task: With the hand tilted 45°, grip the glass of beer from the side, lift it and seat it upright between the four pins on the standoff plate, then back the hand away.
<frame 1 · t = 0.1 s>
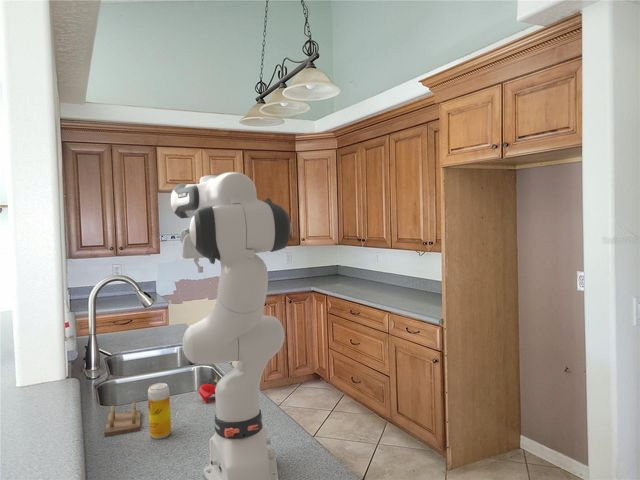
hand: (216, 271, 149), 48 cm above the counter, tool pointing down, fingers open, 8 cm apart
cap: (209, 400, 169), on the counter
glass of beer: (160, 435, 143), on the counter
standoff plate: (123, 424, 151), on the counter
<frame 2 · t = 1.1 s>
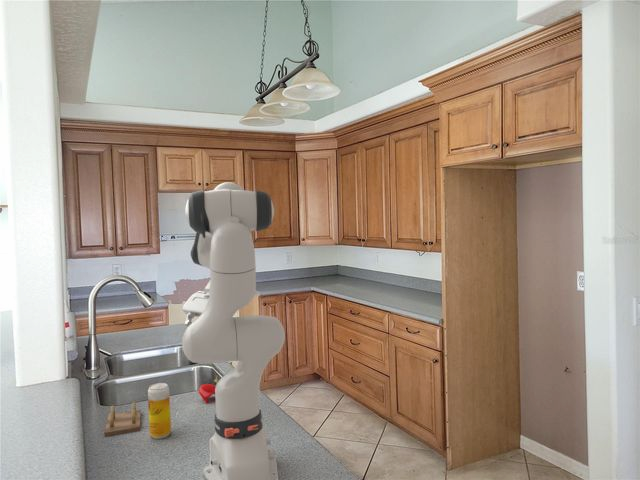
hand: (196, 327, 153), 30 cm above the counter, tool tilted 45°, fingers open, 8 cm apart
nothing on the counter moved.
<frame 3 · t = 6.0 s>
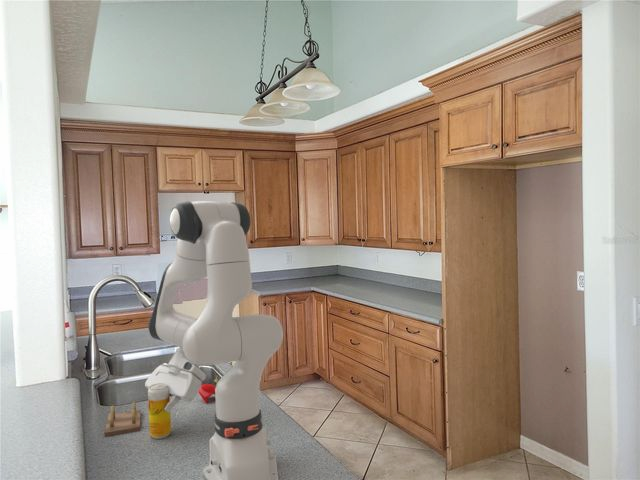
hand: (157, 408, 142), 8 cm above the counter, tool tilted 45°, fingers closed on glass of beer, 6 cm apart
glass of beer: (160, 435, 143), on the counter, touching gripper
everything else where it was.
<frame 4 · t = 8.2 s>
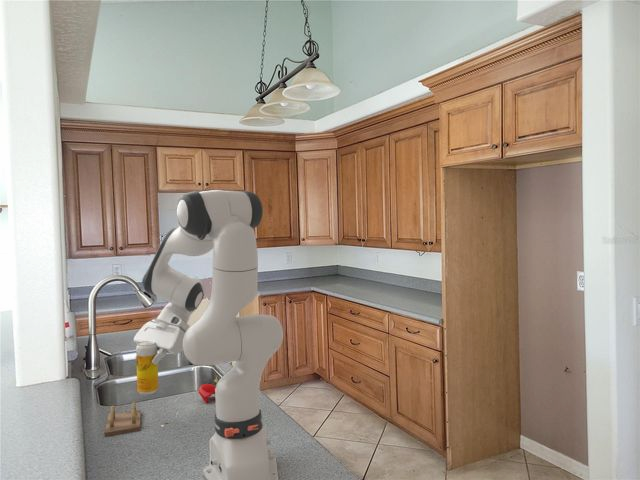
hand: (145, 361, 144), 22 cm above the counter, tool tilted 45°, fingers closed on glass of beer, 6 cm apart
glass of beer: (148, 392, 145), point 12 cm above the counter, touching gripper
everything else where it was.
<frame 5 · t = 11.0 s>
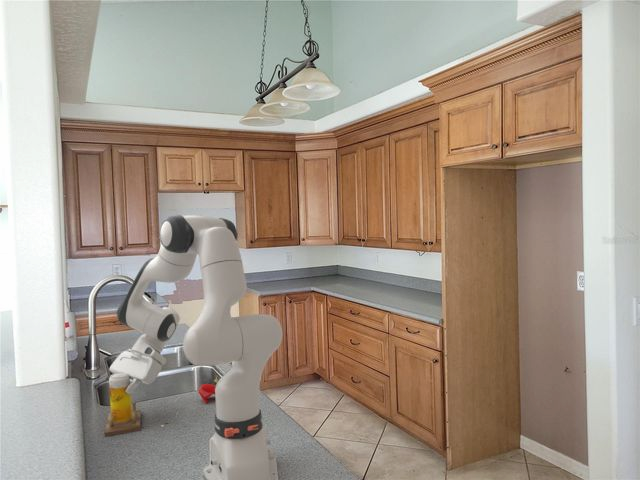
hand: (119, 390, 150), 11 cm above the counter, tool tilted 45°, fingers closed on glass of beer, 6 cm apart
glass of beer: (121, 421, 151), point 1 cm above the counter, touching gripper, standoff plate
everything else where it was.
when the fingers open (11 cm above the counter, at t = 11.9 s): glass of beer stays where it is, resting on standoff plate.
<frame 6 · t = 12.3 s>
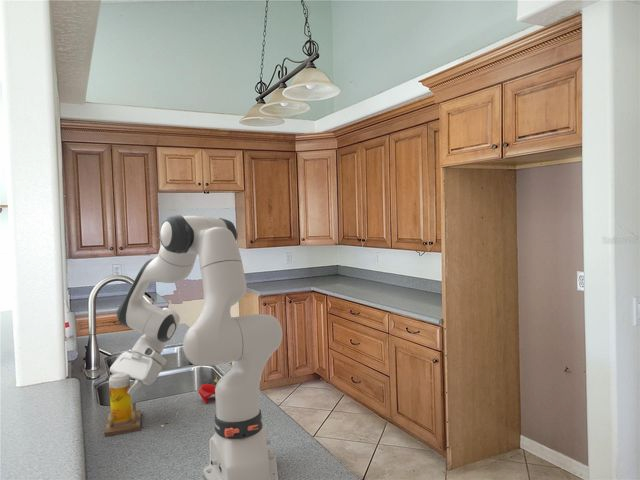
hand: (119, 391, 150), 11 cm above the counter, tool tilted 45°, fingers open, 8 cm apart
glass of beer: (121, 421, 151), point 1 cm above the counter, touching standoff plate
everything else where it was.
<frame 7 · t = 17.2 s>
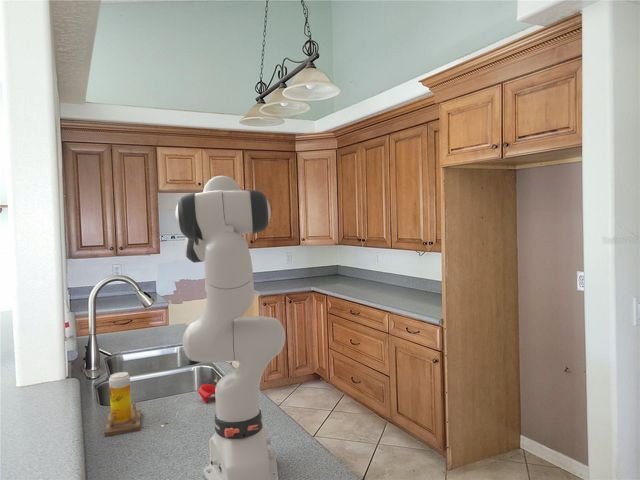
hand: (229, 308, 160), 34 cm above the counter, tool pointing down, fingers open, 8 cm apart
nothing on the counter moved.
at the end: glass of beer 0.4 cm off-centre on the standoff plate, point 1.0 cm above the standoff plate's base; glass of beer tilted 0°; the gripper is holding nothing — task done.
